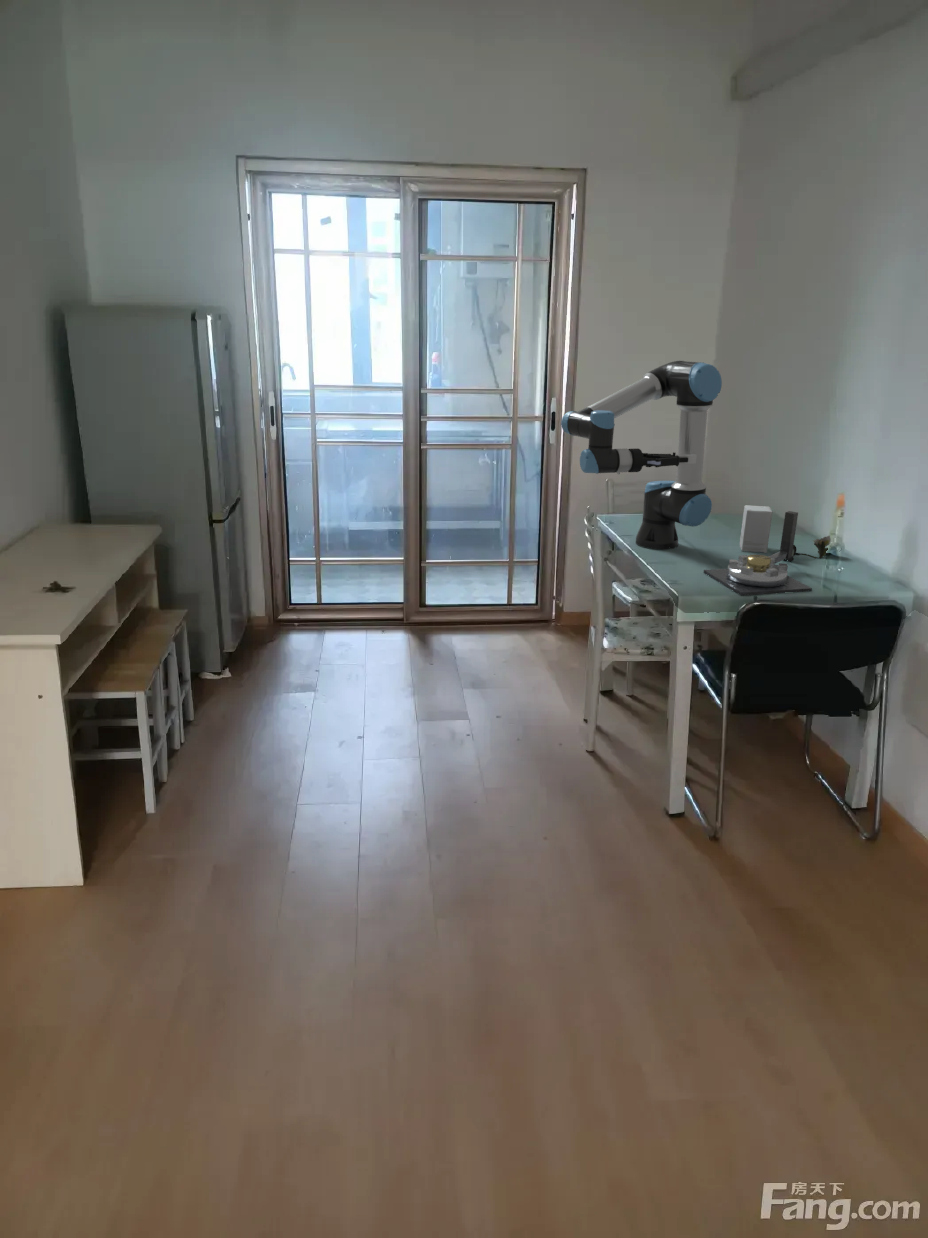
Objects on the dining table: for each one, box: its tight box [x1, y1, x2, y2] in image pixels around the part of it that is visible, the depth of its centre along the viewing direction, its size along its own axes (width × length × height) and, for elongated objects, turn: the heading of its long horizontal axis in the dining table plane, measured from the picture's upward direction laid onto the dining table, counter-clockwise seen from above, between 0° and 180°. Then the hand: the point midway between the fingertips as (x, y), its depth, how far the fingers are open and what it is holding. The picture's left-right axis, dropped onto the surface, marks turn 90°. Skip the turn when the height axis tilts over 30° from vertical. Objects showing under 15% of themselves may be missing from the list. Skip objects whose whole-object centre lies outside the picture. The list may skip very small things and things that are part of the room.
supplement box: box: [739, 504, 773, 554], centre depth 317 cm, size 9×9×15 cm
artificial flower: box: [785, 535, 842, 562], centre depth 309 cm, size 9×22×10 cm, turn 109°
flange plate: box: [703, 554, 813, 597], centre depth 281 cm, size 24×24×8 cm
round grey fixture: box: [727, 510, 799, 587], centre depth 283 cm, size 30×18×18 cm, turn 137°
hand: (695, 458), depth 290 cm, fingers closed
